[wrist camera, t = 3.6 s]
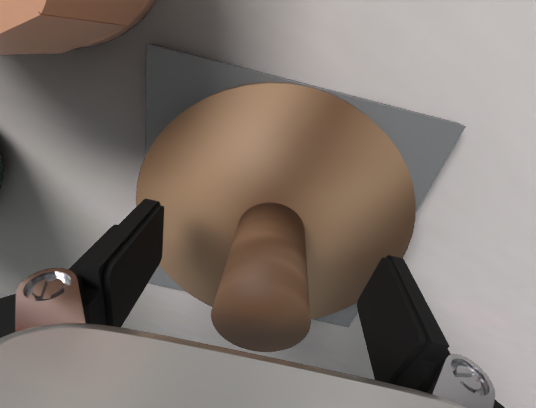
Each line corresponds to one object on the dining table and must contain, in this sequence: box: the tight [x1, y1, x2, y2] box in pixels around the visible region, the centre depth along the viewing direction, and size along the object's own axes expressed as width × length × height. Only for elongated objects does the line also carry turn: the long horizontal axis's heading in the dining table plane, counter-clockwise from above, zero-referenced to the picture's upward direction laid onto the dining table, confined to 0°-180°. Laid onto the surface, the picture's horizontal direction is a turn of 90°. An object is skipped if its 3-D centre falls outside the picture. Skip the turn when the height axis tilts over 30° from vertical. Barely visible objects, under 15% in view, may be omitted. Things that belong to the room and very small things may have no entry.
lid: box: [136, 82, 416, 352], centre depth 12 cm, size 13×13×6 cm
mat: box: [146, 44, 466, 327], centre depth 14 cm, size 13×13×1 cm
